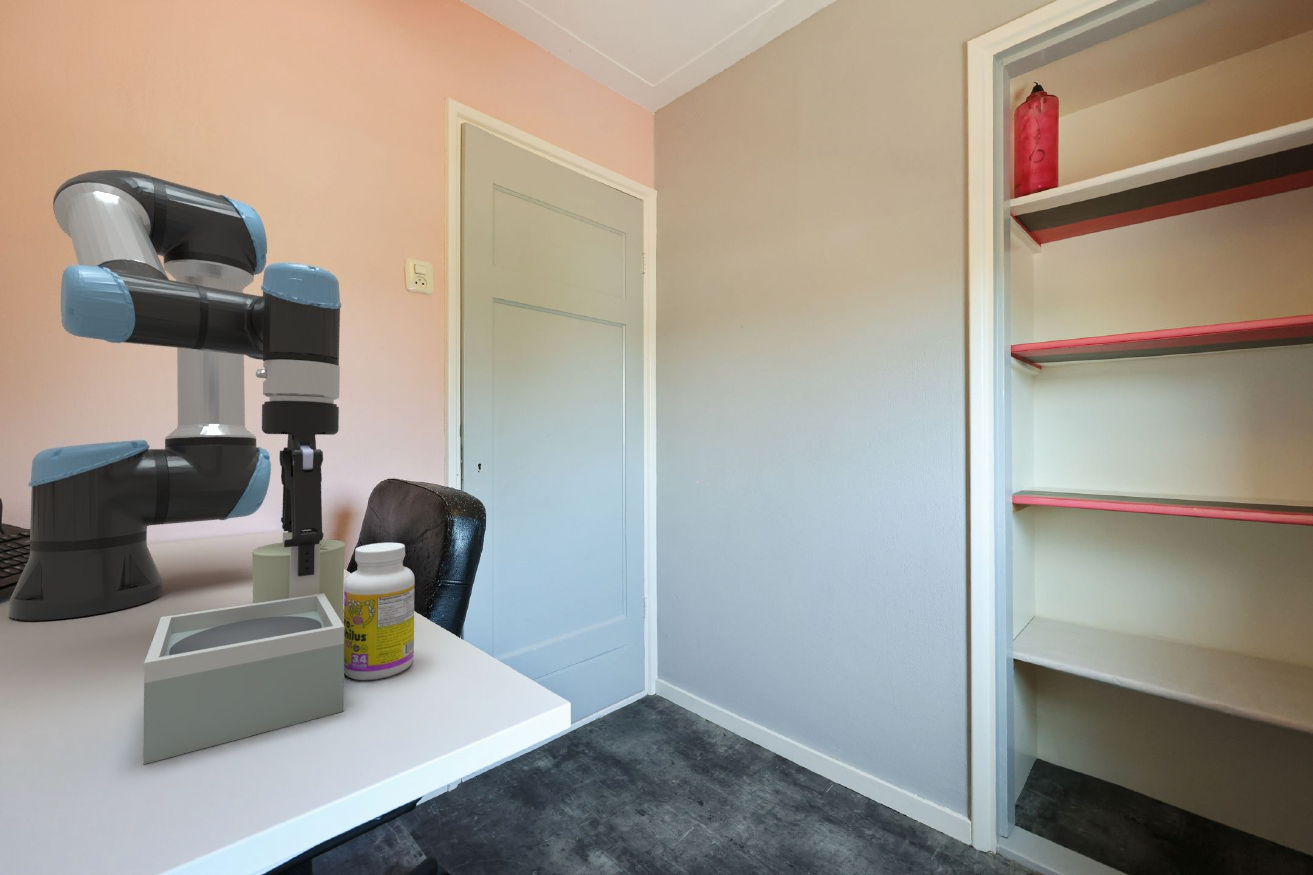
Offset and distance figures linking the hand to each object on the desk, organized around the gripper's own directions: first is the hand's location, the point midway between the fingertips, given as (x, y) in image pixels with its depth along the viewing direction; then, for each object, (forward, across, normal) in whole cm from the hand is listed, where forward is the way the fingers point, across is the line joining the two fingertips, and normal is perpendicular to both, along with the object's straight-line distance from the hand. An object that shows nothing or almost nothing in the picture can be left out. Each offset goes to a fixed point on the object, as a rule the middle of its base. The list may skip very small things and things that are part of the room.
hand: (299, 593), depth 64 cm
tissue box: (+6, +14, -5) cm, 16 cm away
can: (+6, 0, 0) cm, 6 cm away
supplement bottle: (+6, +13, +6) cm, 15 cm away
